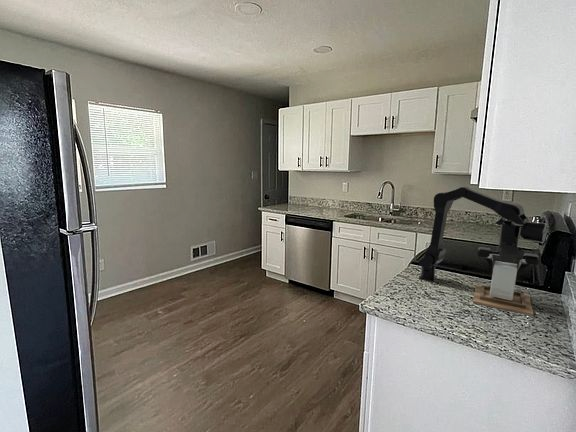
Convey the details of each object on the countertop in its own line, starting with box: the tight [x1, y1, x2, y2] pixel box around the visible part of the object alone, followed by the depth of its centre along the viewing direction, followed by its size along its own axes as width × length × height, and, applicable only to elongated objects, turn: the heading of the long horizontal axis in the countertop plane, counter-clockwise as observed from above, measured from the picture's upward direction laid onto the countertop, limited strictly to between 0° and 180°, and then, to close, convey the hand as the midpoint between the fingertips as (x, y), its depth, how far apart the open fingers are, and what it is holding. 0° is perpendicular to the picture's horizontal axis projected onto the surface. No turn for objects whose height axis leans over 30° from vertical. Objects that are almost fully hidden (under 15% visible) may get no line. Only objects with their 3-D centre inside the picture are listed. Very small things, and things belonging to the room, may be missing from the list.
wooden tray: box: [472, 284, 534, 317], centre depth 120 cm, size 20×18×2 cm
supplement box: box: [490, 260, 518, 301], centre depth 119 cm, size 7×7×13 cm
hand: (504, 277), depth 119 cm, fingers closed on supplement box, 7 cm apart
